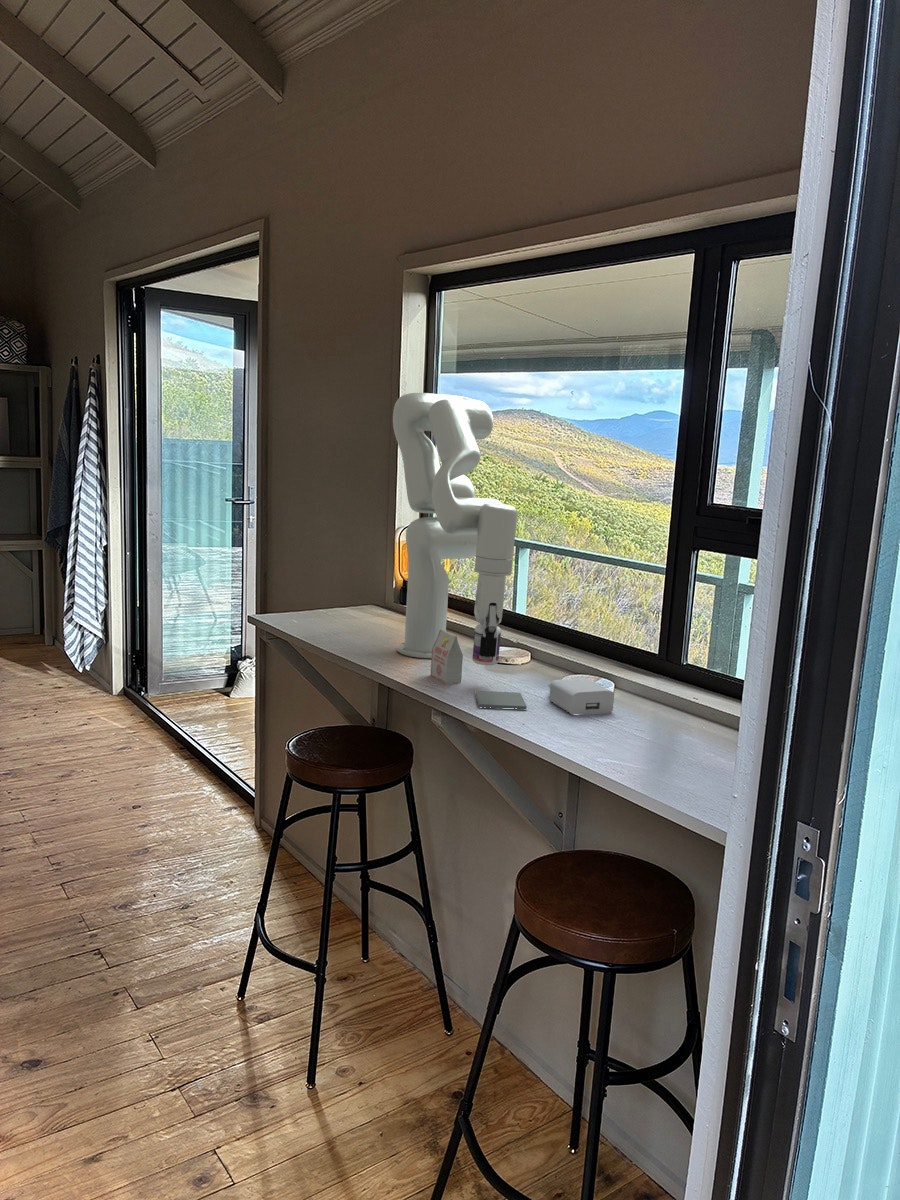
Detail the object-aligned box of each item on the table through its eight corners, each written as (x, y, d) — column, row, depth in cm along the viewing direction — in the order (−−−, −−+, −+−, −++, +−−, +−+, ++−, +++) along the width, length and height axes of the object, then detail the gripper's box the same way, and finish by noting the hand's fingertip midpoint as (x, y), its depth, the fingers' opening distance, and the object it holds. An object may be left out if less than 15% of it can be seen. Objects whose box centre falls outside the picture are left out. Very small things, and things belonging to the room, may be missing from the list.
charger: (573, 691, 189) (612, 714, 176) (534, 693, 186) (570, 716, 172) (576, 669, 189) (614, 690, 175) (536, 671, 185) (572, 692, 171)
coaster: (475, 694, 182) (475, 690, 182) (520, 696, 183) (520, 692, 182) (479, 708, 173) (479, 704, 173) (526, 710, 174) (526, 706, 174)
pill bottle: (485, 657, 191) (489, 612, 189) (503, 663, 187) (507, 617, 185) (466, 660, 188) (470, 614, 185) (485, 667, 184) (489, 620, 182)
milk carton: (445, 674, 196) (448, 629, 194) (461, 682, 190) (464, 636, 188) (430, 675, 194) (433, 629, 192) (445, 684, 188) (448, 637, 186)
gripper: (471, 556, 191) (465, 640, 195) (478, 572, 175) (470, 662, 178) (507, 559, 192) (499, 642, 196) (517, 574, 175) (508, 665, 179)
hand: (486, 651), depth 187 cm, fingers closed on pill bottle, 5 cm apart
